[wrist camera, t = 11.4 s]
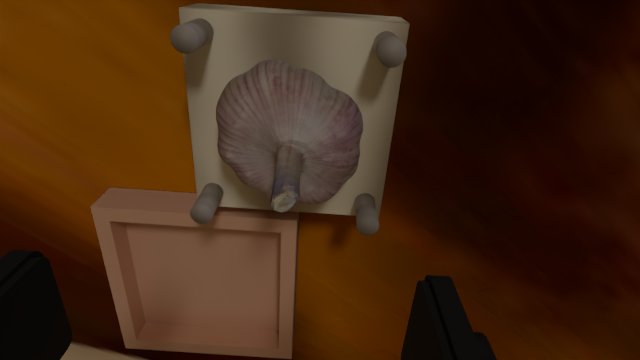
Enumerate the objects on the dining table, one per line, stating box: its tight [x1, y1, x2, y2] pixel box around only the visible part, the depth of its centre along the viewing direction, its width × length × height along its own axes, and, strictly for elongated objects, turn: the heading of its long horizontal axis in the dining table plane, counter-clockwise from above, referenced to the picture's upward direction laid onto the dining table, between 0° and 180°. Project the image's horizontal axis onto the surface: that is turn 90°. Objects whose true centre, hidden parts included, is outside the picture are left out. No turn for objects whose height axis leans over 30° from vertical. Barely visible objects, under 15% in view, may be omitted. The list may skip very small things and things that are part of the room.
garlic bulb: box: [216, 59, 363, 212], centre depth 18 cm, size 8×7×8 cm
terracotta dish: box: [91, 188, 299, 359], centre depth 29 cm, size 13×13×2 cm
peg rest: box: [170, 3, 409, 235], centre depth 22 cm, size 11×11×6 cm
